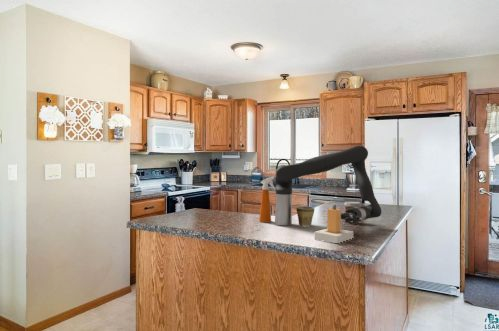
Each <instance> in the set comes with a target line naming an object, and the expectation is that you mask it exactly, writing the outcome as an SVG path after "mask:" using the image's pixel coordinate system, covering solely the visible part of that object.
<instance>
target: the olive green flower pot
mask: <svg viewBox="0 0 499 331" xmlns="http://www.w3.org/2000/svg"><path fill="white" fill-rule="evenodd" d="M295 208H296V214H297V220H298V224H299V225H300V226H299V227H302V226H306V227H305V228H308V226H310V227H311V226H312V222H313V218H314V213H315V208H316V207H313V206H307V205H306V206H304V205H303V206H302V205H301V206H297V207H295Z"/></svg>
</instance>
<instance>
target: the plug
mask: <svg viewBox="0 0 499 331" xmlns="http://www.w3.org/2000/svg"><path fill="white" fill-rule="evenodd" d="M341 213H342V209H339V208H337V205H336V204H332V208H327V218H326V219H327V220H326V221H327V228H326V229H327V232H329V233H334V234H338V233H341V229H342V223H341V222H342V220H341Z"/></svg>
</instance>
